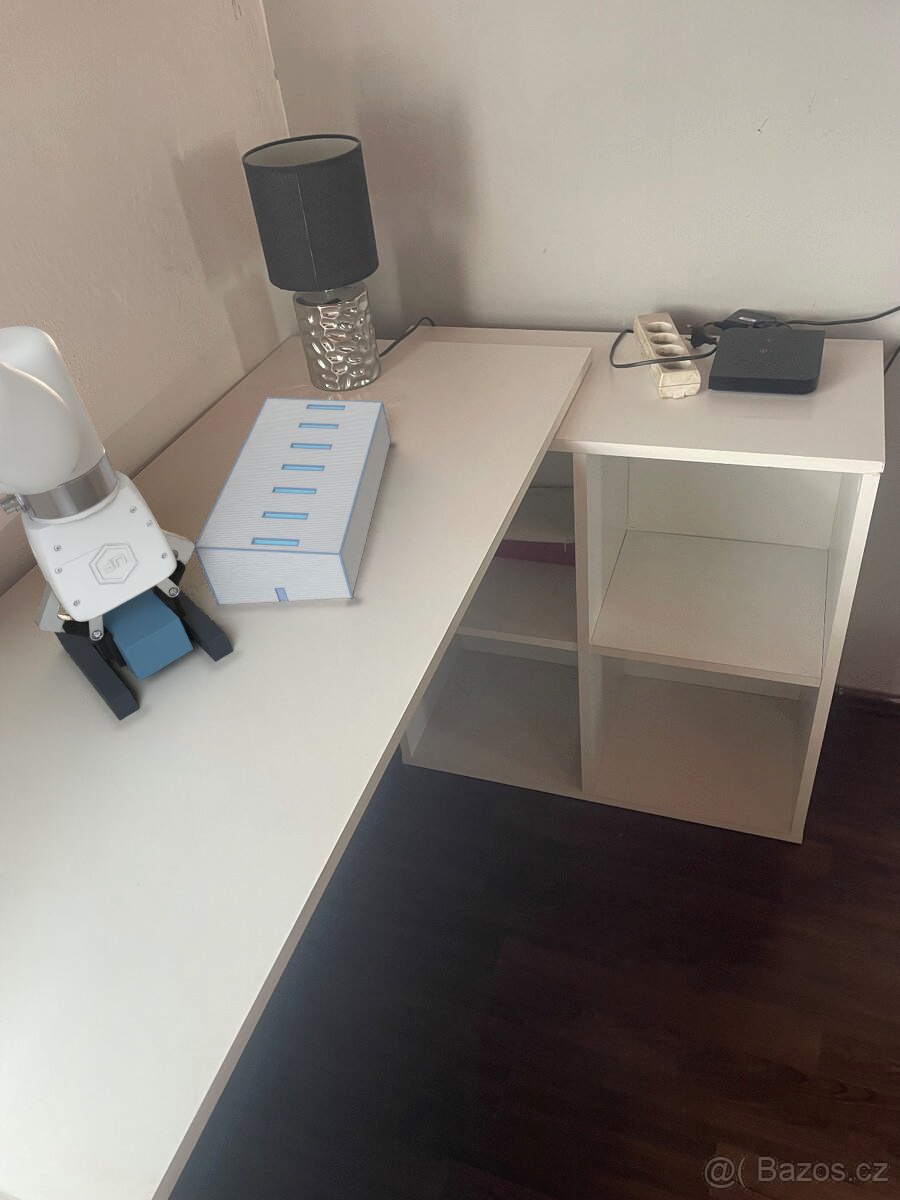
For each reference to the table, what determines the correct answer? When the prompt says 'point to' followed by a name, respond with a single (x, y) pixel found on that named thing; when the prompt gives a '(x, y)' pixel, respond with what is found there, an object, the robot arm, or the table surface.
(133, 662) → the blue rectangular block
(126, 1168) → the table surface
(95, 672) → the dark grey u-frame
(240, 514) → the warehouse
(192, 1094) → the table surface
